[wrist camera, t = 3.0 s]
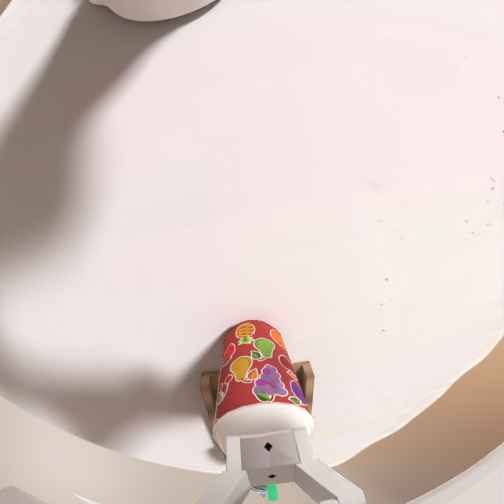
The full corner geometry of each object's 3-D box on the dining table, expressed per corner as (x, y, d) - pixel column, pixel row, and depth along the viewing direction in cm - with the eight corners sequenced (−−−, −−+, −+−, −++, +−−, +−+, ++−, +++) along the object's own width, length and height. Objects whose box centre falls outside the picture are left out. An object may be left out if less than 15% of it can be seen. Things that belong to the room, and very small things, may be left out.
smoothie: (217, 364, 33) (216, 513, 14) (215, 309, 30) (206, 482, 11) (283, 363, 33) (318, 505, 15) (290, 308, 31) (348, 468, 12)
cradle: (201, 373, 33) (200, 389, 30) (308, 361, 34) (314, 376, 31) (227, 450, 41) (227, 463, 38) (303, 441, 41) (306, 454, 38)
